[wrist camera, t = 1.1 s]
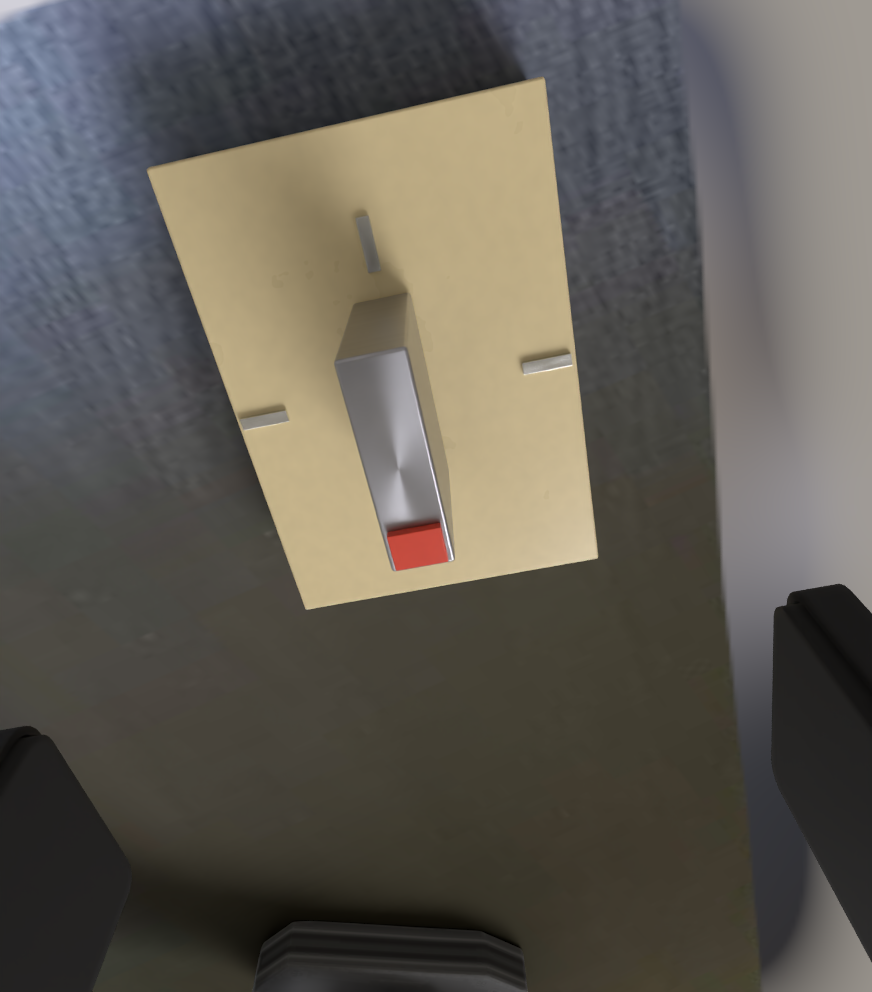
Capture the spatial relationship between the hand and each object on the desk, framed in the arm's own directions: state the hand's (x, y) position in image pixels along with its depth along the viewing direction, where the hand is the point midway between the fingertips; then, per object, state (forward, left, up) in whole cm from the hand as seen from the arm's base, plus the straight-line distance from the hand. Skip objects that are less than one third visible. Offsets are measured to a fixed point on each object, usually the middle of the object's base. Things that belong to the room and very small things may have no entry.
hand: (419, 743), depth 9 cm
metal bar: (0, 0, -13) cm, 13 cm away
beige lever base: (0, 0, -16) cm, 16 cm away
